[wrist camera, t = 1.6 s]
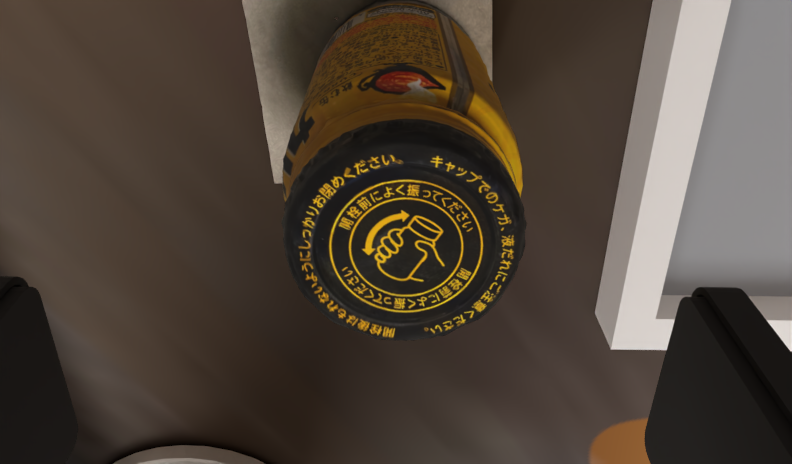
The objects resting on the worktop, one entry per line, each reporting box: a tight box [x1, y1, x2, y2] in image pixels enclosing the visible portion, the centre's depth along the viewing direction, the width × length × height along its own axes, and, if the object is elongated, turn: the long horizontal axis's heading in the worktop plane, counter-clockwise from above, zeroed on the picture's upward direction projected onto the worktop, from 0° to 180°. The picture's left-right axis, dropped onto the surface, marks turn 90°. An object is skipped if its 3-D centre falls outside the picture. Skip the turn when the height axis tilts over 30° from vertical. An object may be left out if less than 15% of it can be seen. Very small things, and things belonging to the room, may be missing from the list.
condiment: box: [242, 0, 526, 340], centre depth 20 cm, size 7×8×12 cm
